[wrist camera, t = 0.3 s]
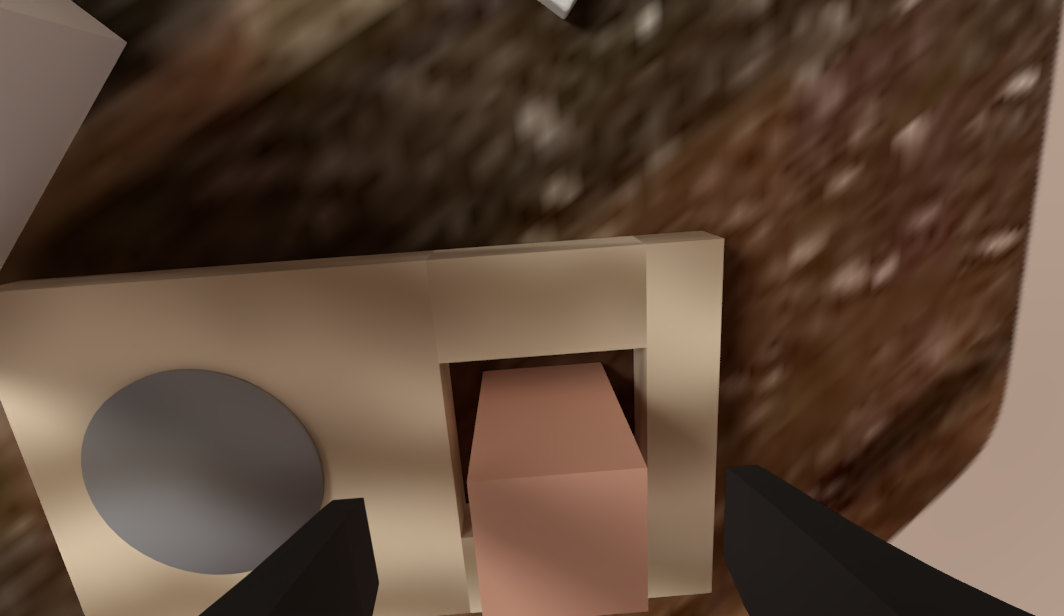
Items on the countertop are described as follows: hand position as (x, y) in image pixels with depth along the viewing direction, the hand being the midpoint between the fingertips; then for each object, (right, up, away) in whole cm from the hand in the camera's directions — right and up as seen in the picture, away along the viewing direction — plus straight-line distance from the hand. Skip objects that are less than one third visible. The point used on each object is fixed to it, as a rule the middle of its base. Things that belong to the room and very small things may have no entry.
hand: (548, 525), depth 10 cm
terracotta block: (0, 0, +10) cm, 10 cm away
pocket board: (-6, -1, +10) cm, 11 cm away
